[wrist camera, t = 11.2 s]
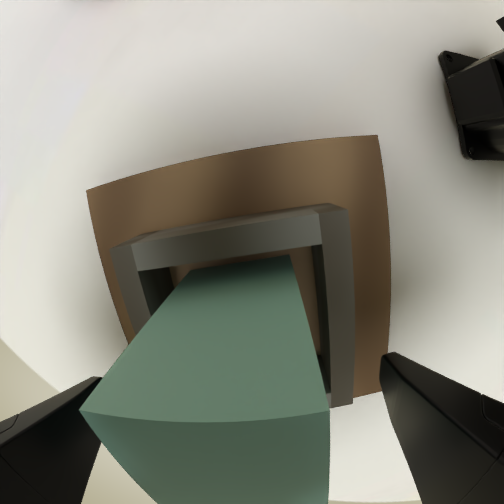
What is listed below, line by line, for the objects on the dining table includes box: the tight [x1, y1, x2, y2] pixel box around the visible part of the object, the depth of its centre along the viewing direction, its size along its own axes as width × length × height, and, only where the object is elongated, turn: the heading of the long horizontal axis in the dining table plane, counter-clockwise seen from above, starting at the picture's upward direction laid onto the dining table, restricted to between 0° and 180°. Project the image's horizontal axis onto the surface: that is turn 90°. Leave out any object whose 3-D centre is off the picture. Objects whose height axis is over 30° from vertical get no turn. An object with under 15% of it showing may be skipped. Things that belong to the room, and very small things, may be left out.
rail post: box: [79, 254, 330, 504], centre depth 9 cm, size 4×4×9 cm
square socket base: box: [86, 135, 391, 408], centre depth 12 cm, size 14×14×4 cm
